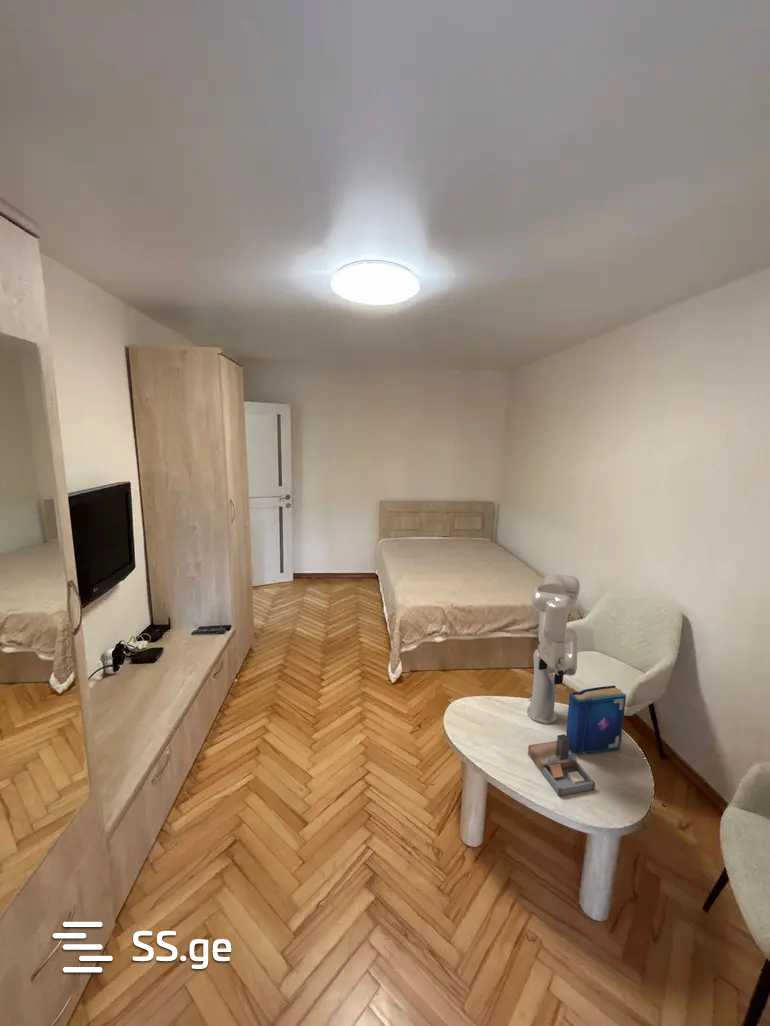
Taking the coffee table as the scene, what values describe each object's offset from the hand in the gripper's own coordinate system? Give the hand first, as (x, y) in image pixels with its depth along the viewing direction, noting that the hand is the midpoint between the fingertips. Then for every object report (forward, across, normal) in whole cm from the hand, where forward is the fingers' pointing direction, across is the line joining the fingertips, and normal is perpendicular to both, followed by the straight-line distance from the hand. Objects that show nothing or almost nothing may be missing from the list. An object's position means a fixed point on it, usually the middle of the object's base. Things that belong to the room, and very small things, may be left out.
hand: (550, 676), depth 158 cm
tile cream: (+32, +13, +5) cm, 35 cm away
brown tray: (+34, +3, +2) cm, 34 cm away
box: (+34, +13, +2) cm, 37 cm away
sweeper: (+30, +8, +2) cm, 31 cm away
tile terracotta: (+32, +9, -1) cm, 34 cm away
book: (+34, 0, +22) cm, 41 cm away
